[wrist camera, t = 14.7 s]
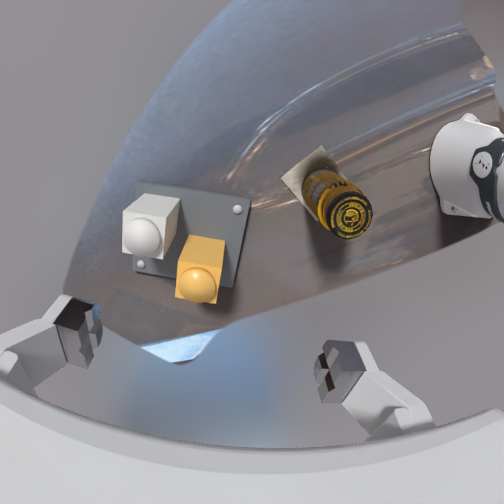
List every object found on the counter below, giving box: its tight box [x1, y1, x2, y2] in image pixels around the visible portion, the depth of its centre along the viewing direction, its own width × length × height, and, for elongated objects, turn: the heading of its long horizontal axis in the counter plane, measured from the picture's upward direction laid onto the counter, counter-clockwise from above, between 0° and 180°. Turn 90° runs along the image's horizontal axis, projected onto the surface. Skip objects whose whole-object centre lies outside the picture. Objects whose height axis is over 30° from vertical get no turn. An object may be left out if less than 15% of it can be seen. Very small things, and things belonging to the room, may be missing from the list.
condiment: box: [281, 145, 373, 239], centre depth 33 cm, size 7×8×12 cm
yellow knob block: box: [175, 235, 225, 304], centre depth 37 cm, size 5×5×9 cm
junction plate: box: [122, 181, 251, 288], centre depth 36 cm, size 16×14×10 cm
